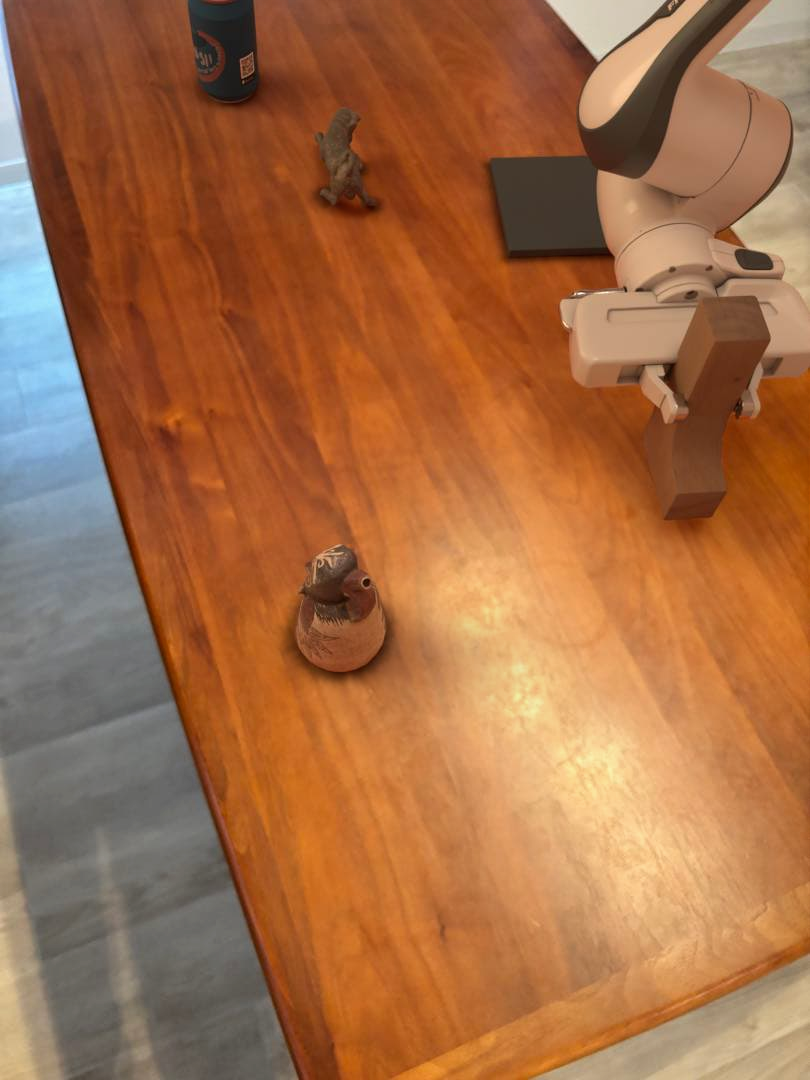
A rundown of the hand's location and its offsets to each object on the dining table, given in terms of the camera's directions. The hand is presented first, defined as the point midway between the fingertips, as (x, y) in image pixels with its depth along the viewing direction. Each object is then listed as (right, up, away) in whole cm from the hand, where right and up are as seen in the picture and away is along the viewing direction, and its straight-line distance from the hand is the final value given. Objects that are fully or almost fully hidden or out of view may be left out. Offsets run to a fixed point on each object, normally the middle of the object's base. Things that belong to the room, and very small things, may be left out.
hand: (713, 416), depth 79 cm
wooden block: (-1, -4, +9) cm, 10 cm away
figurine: (-30, -17, +2) cm, 34 cm away
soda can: (-44, +42, +35) cm, 70 cm away
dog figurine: (-31, +29, +29) cm, 51 cm away
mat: (-7, +26, +28) cm, 39 cm away
